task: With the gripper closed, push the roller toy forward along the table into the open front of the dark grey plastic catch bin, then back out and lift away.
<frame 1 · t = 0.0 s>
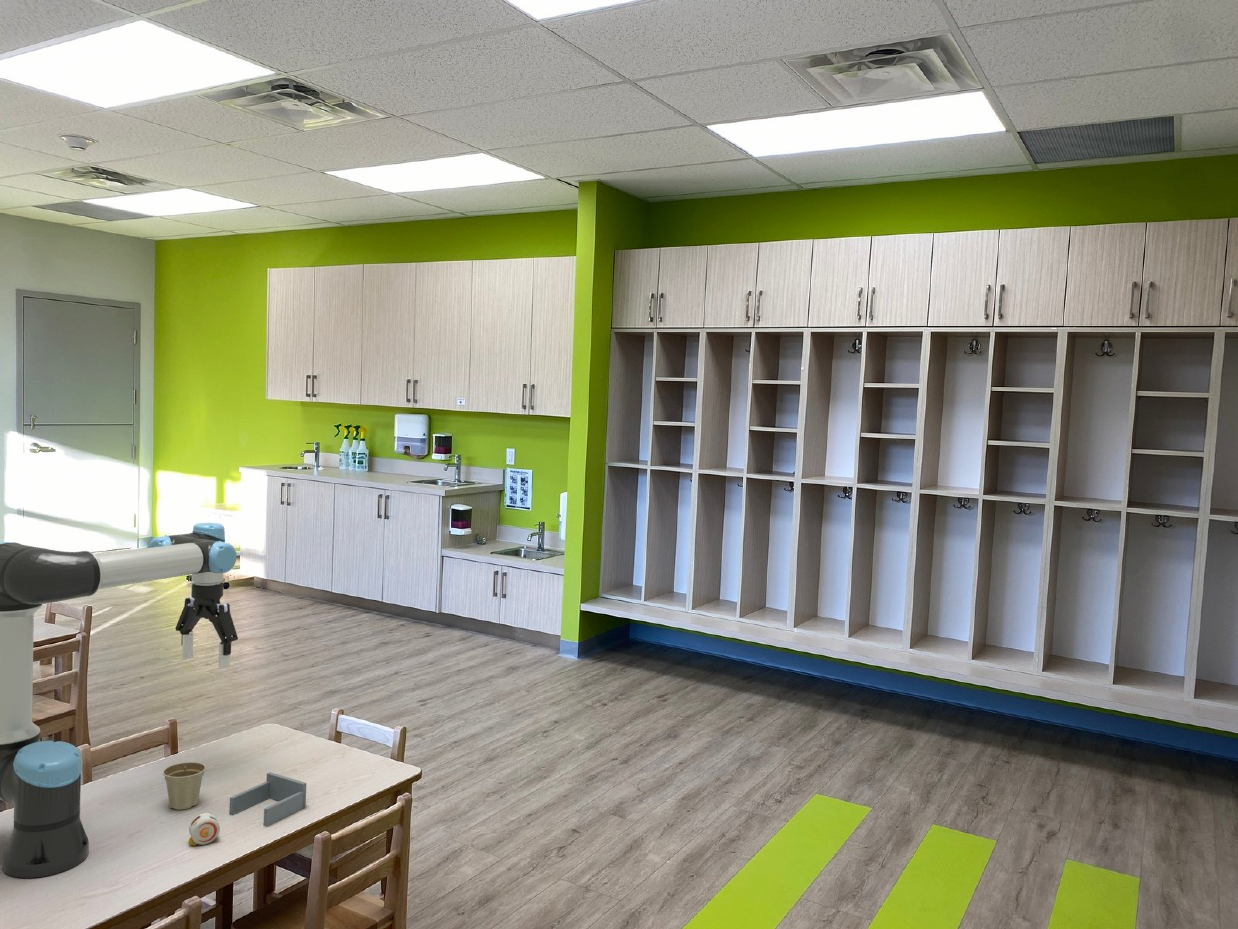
hand: (205, 663, 235), 28 cm above the table, tool pointing down, fingers open, 13 cm apart
roller toy: (203, 842, 198), on the table
flower pot: (183, 805, 215), on the table
catch bin: (267, 810, 214), on the table
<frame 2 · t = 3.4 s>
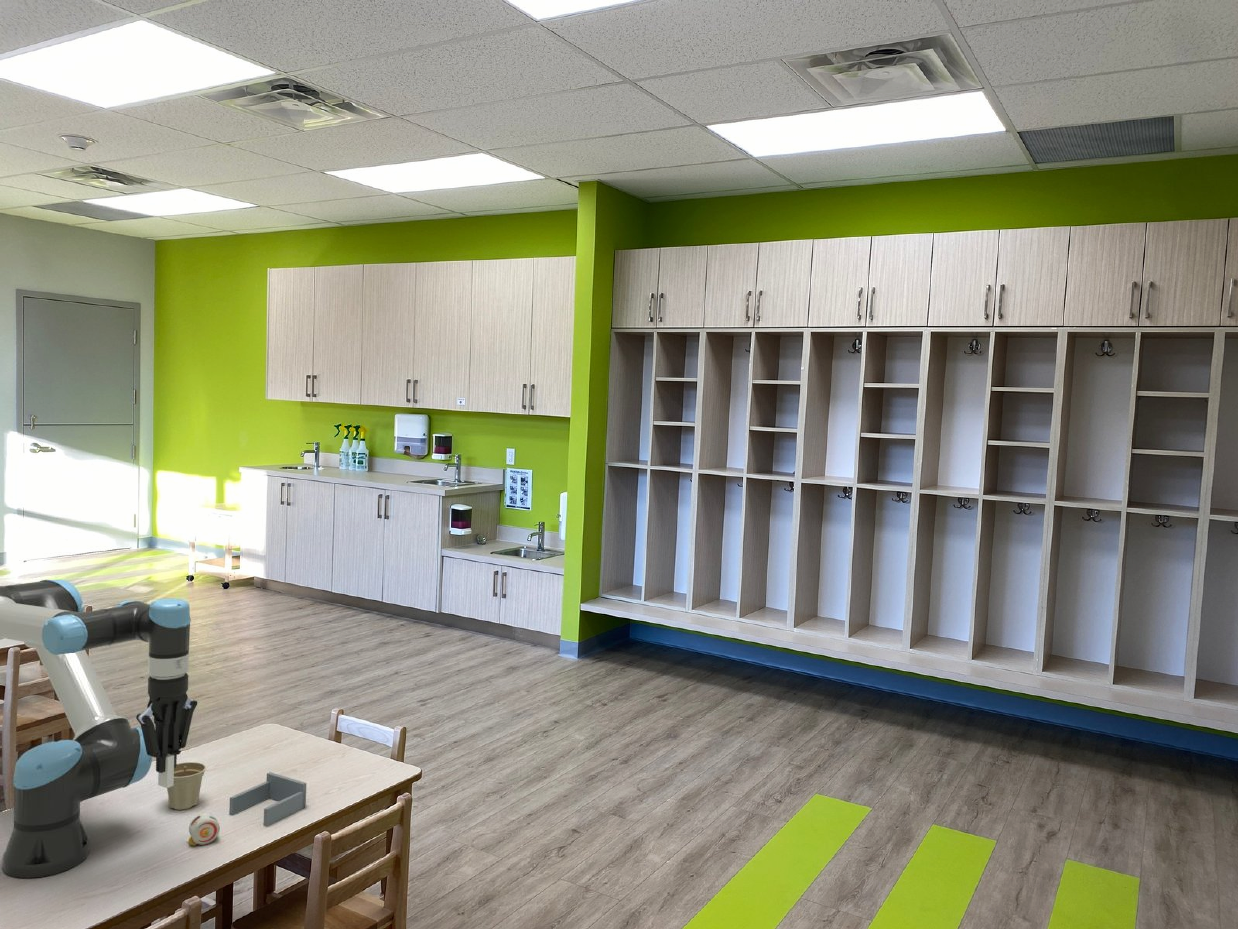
hand: (165, 785, 188), 16 cm above the table, tool pointing down, fingers closed
nothing on the table moved.
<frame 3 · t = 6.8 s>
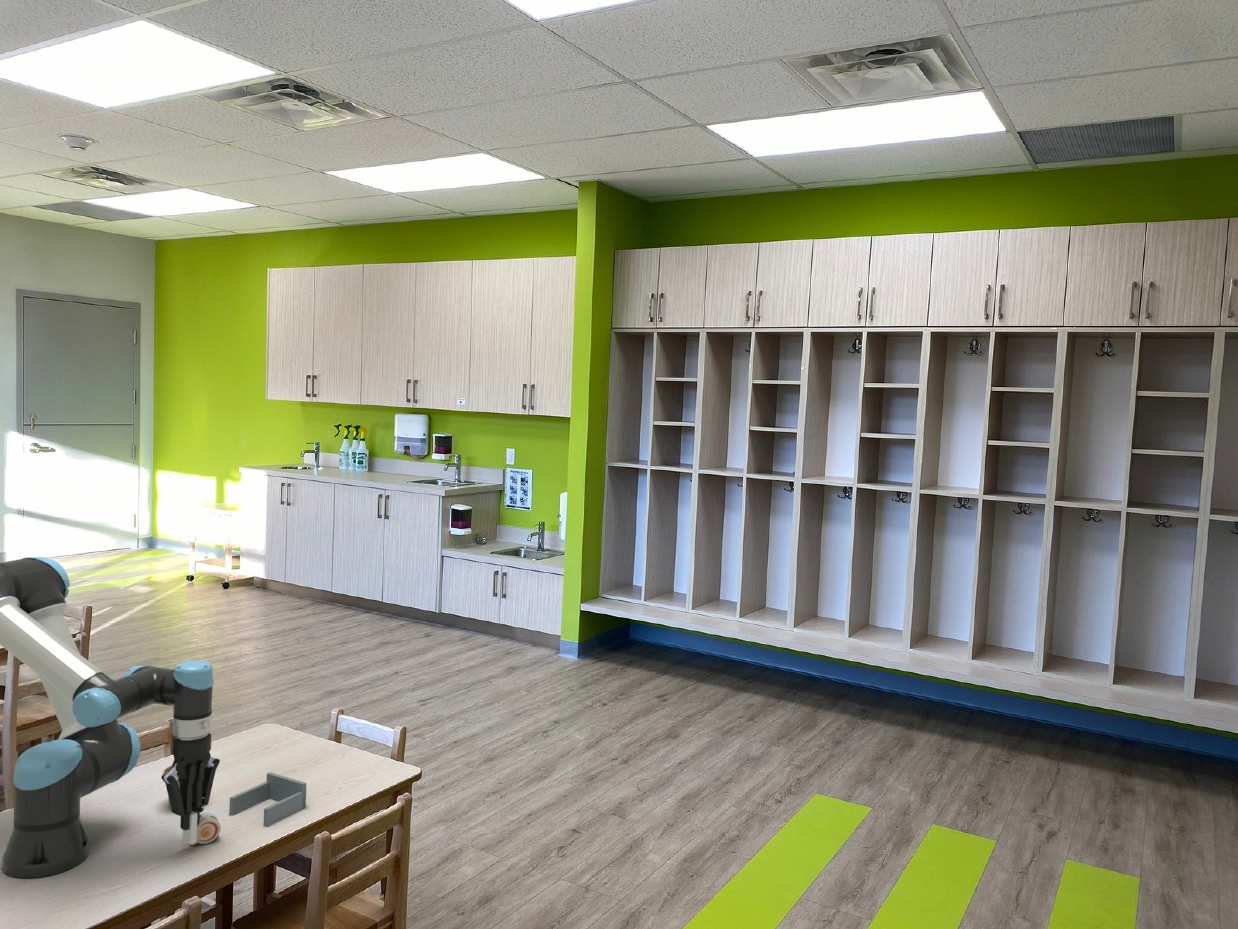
hand: (189, 842, 194), 2 cm above the table, tool pointing down, fingers closed
roller toy: (204, 842, 198), on the table, touching gripper
everything else where it was.
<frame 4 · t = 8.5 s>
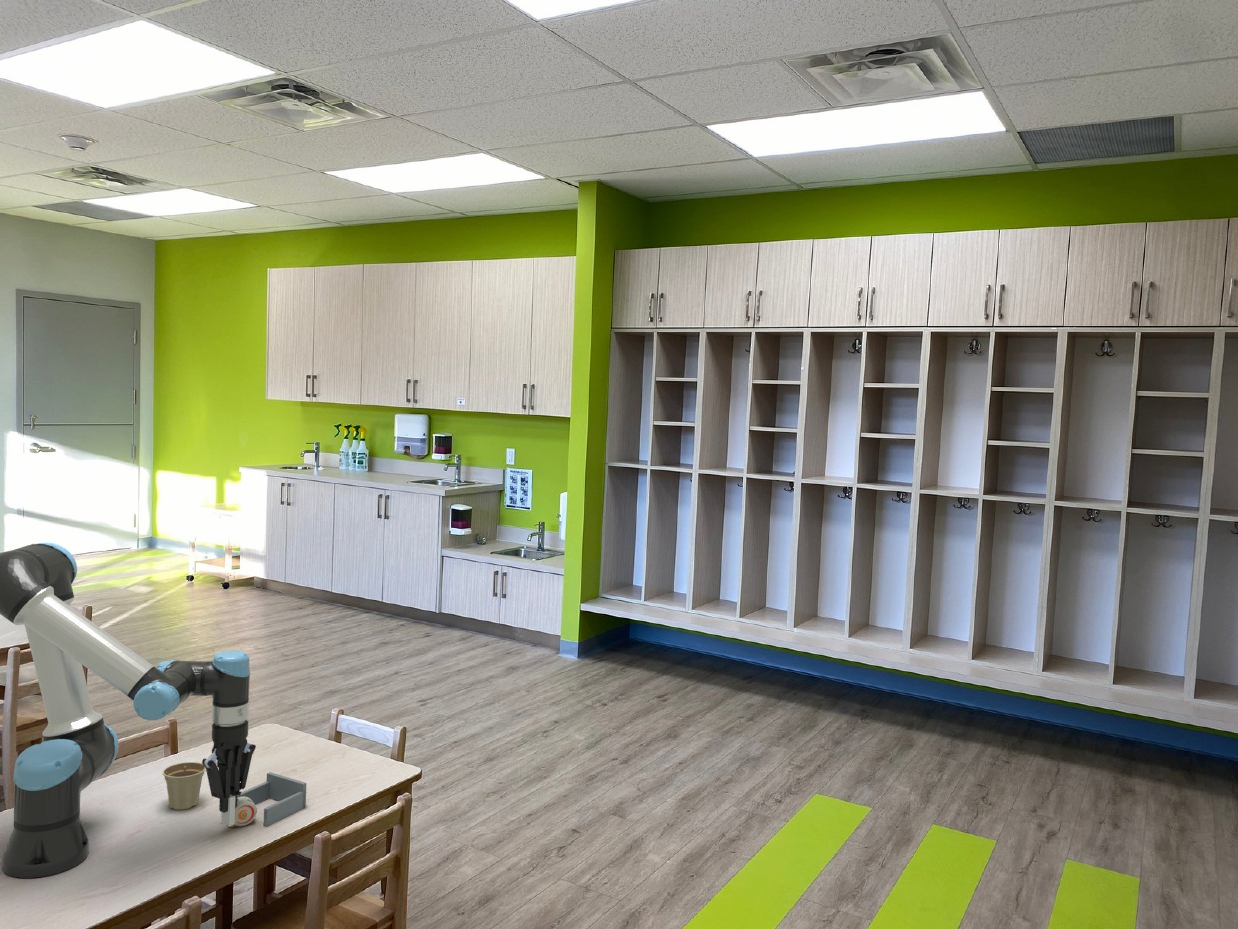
hand: (227, 824, 203), 2 cm above the table, tool pointing down, fingers closed
roller toy: (241, 824, 207), on the table, touching gripper
everything else where it was.
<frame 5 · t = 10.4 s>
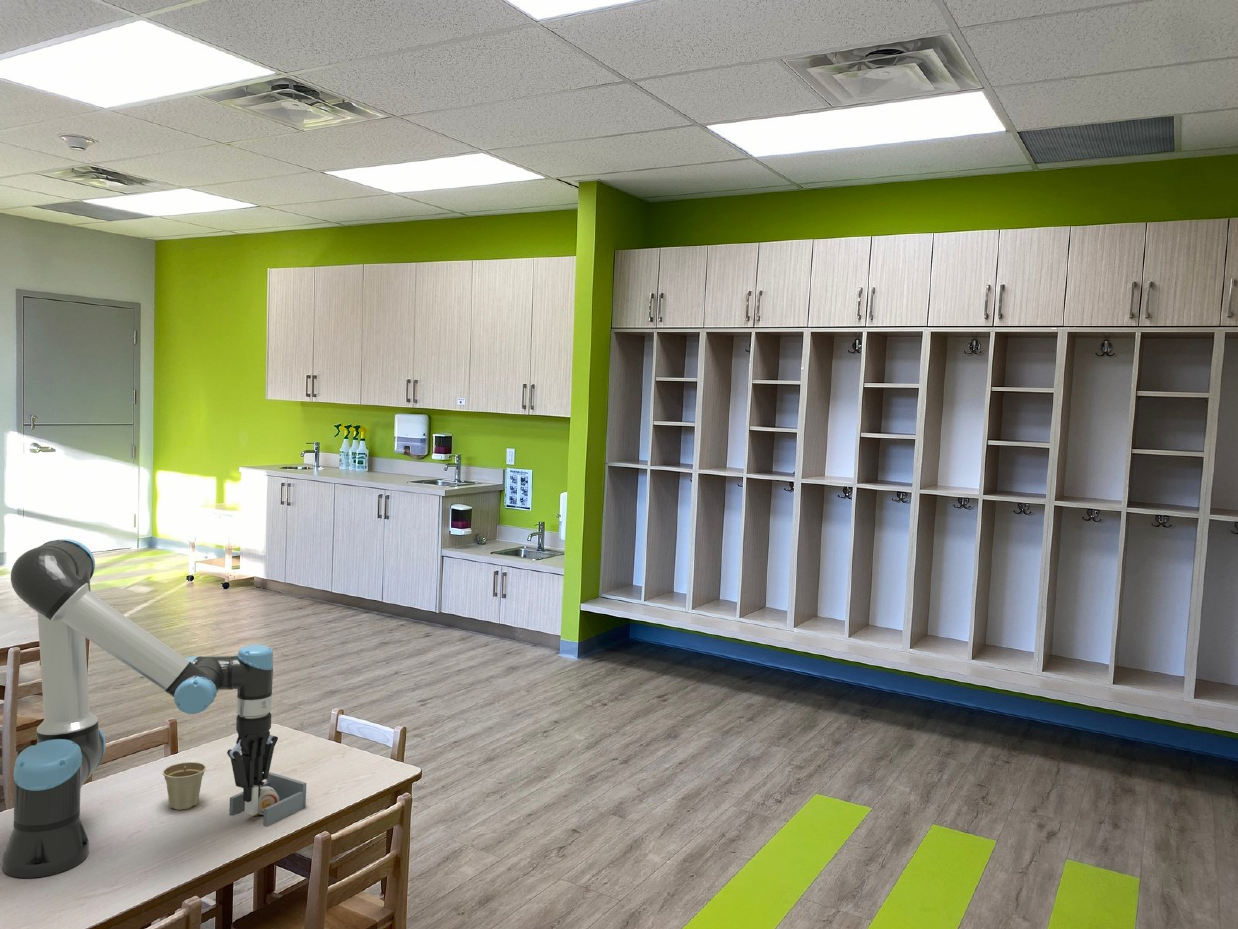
hand: (251, 813, 209), 2 cm above the table, tool pointing down, fingers closed
roller toy: (264, 813, 213), on the table, touching gripper
everything else where it was.
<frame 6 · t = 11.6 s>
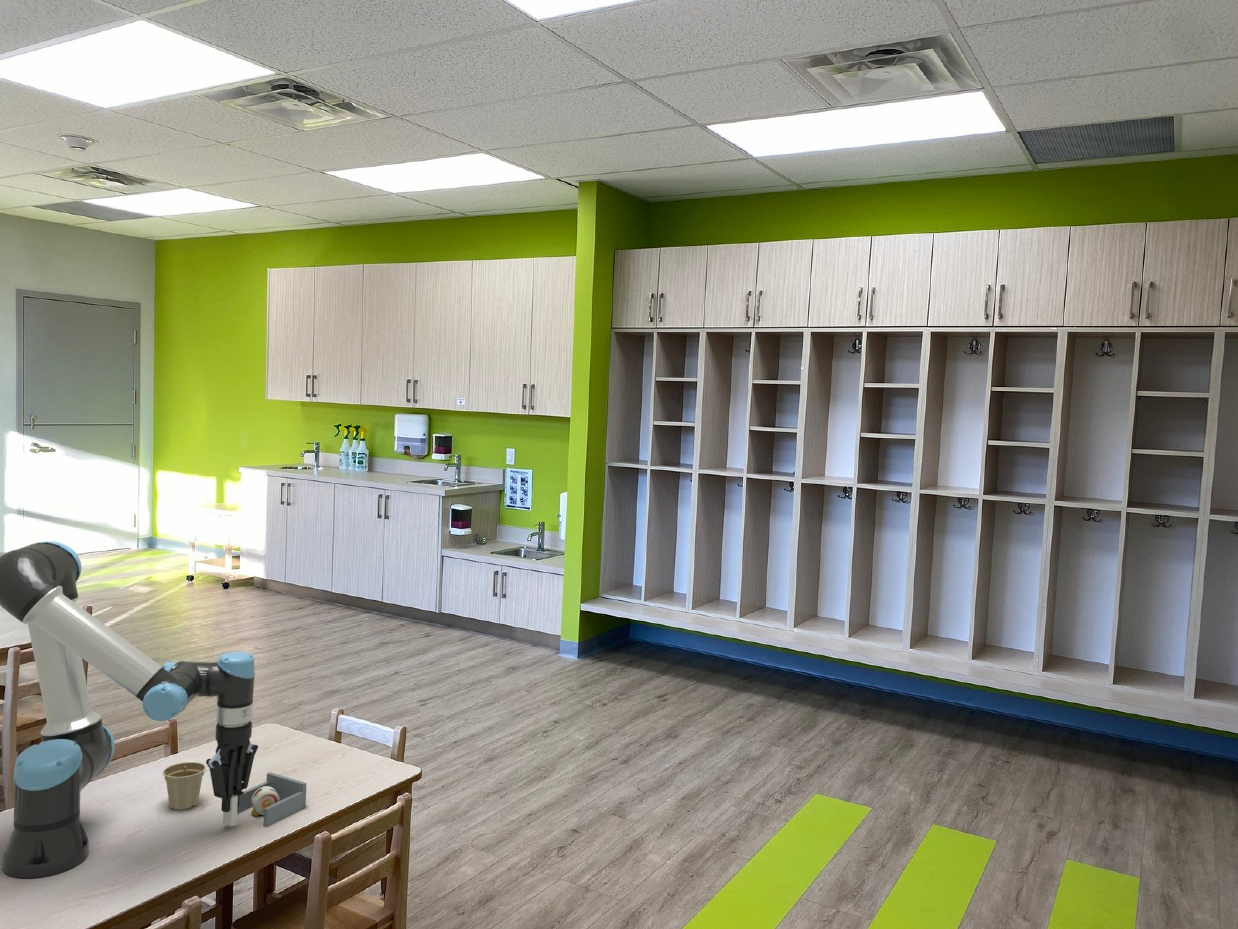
hand: (229, 823, 205), 1 cm above the table, tool pointing down, fingers closed
roller toy: (265, 813, 213), on the table
everything else where it was.
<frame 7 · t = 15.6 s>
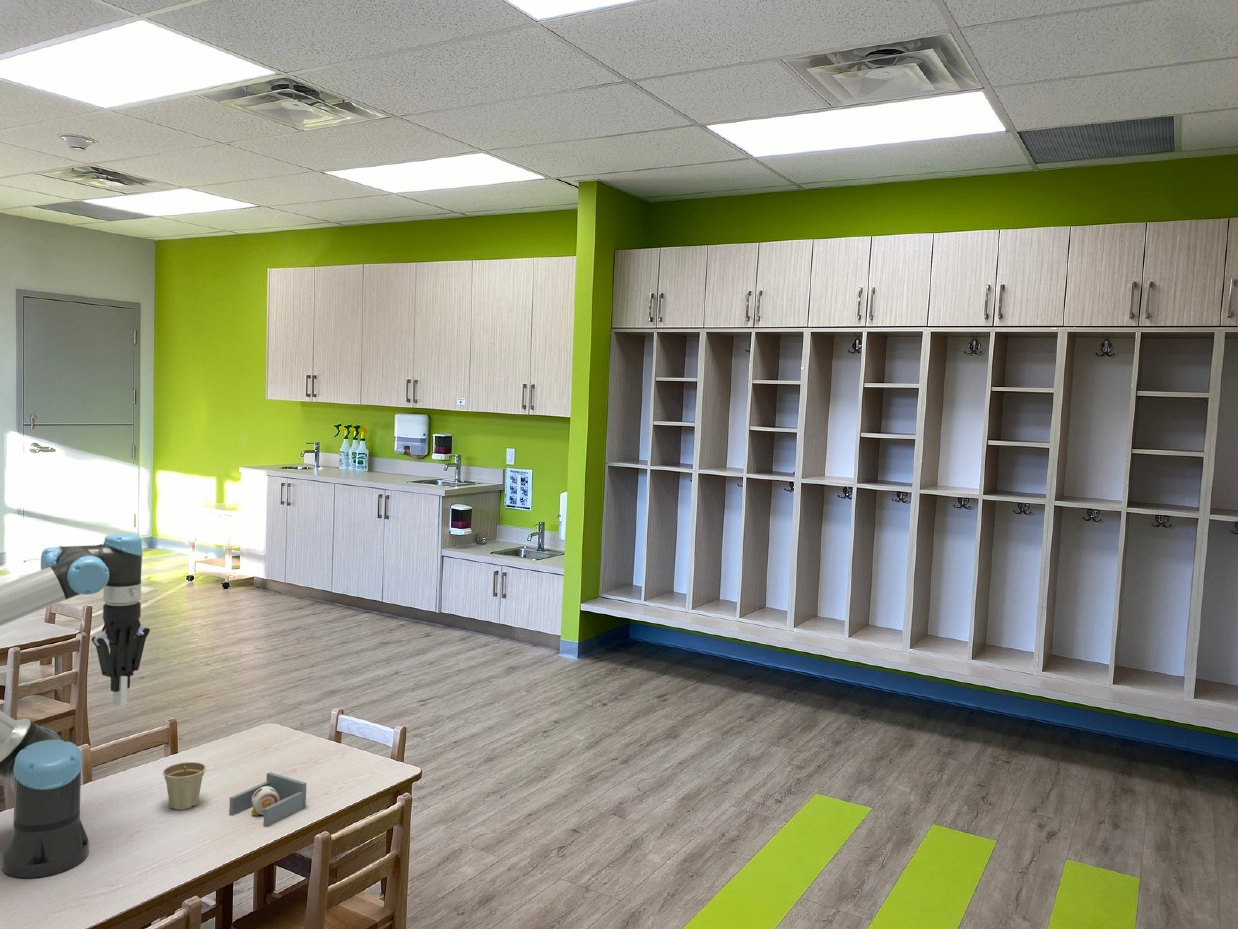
hand: (119, 704, 206), 26 cm above the table, tool pointing down, fingers closed
nothing on the table moved.
at the end: roller toy inside the target area on the catch bin (0.7 cm from its centre), point 0.0 cm above the catch bin's base; roller toy moved 17.1 cm from its start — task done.
